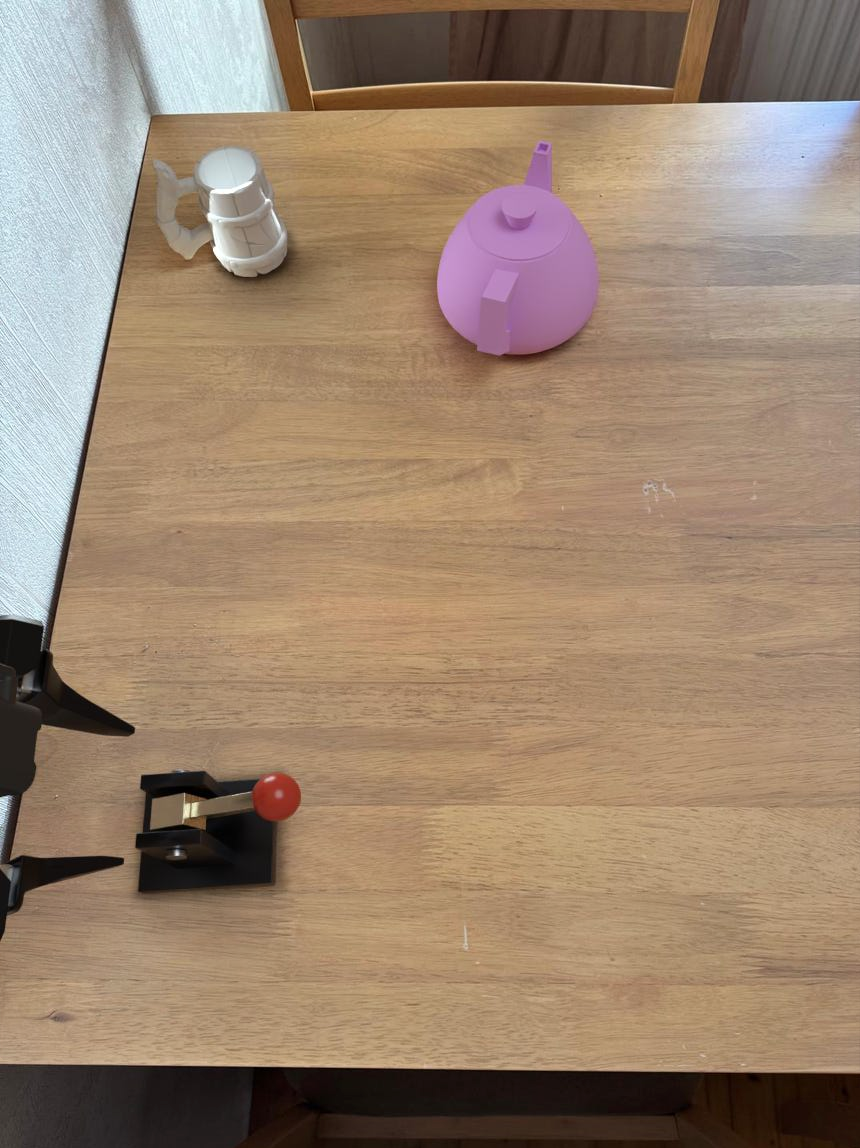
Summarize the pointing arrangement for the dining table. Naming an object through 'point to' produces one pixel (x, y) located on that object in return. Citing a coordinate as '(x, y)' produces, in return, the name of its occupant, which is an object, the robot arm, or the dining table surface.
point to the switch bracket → (205, 841)
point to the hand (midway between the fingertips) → (127, 795)
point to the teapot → (519, 268)
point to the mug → (225, 211)
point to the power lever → (227, 805)
